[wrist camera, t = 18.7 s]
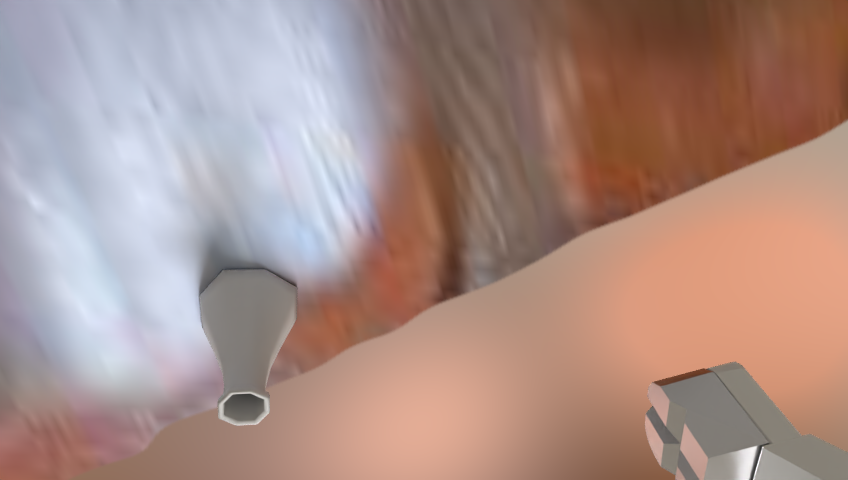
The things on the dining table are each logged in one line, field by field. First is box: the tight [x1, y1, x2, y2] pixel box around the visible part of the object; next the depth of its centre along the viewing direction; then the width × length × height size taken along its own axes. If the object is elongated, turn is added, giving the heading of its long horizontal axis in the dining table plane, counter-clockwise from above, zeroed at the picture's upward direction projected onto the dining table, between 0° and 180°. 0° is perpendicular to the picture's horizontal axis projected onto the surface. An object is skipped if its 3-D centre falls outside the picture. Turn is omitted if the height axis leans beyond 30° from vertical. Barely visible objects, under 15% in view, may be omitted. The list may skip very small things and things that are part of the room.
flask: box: [199, 269, 298, 426], centre depth 43 cm, size 7×7×10 cm
